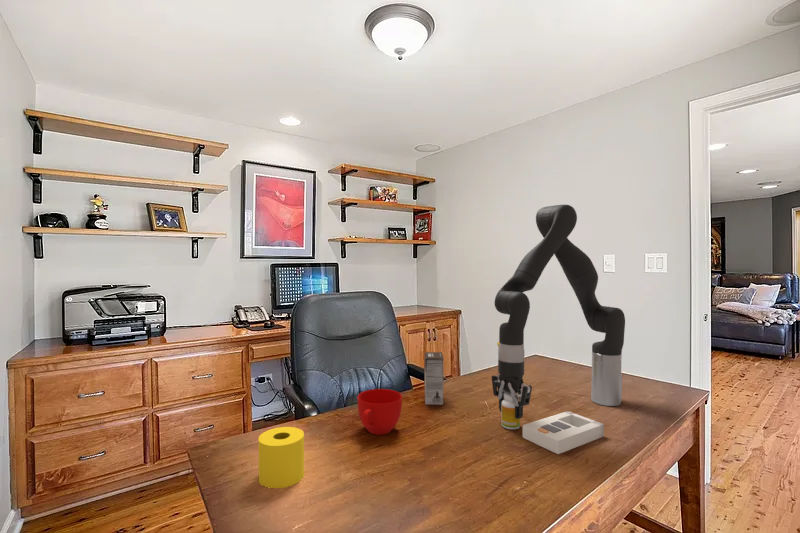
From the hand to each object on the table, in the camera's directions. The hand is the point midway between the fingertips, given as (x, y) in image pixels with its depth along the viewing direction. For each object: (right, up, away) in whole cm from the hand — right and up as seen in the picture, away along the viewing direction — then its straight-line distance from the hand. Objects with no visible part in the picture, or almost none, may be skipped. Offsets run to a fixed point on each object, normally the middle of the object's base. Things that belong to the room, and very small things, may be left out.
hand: (510, 414), depth 124 cm
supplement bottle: (0, -4, 0) cm, 4 cm away
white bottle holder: (+13, -4, -7) cm, 15 cm away
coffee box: (-21, -3, +22) cm, 31 cm away
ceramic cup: (-39, -4, -5) cm, 40 cm away
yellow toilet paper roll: (-60, -4, -28) cm, 67 cm away
